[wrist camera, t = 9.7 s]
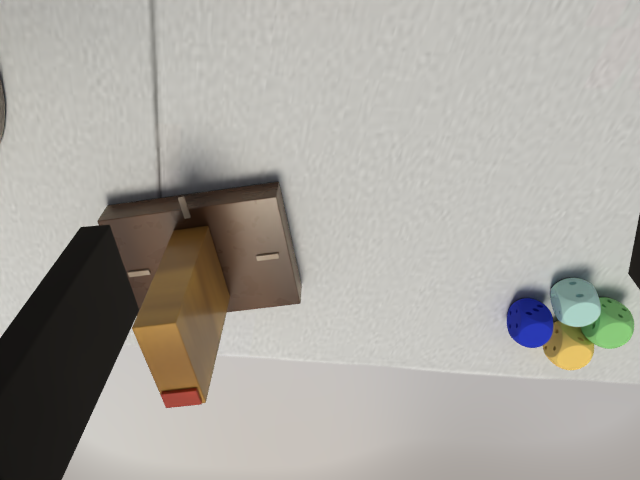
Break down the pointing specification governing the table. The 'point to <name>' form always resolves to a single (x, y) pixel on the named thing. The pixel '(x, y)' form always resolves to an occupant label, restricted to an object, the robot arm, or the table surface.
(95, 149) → the table surface
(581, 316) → the dice
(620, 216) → the table surface
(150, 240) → the lock plate
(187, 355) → the thumb turn
